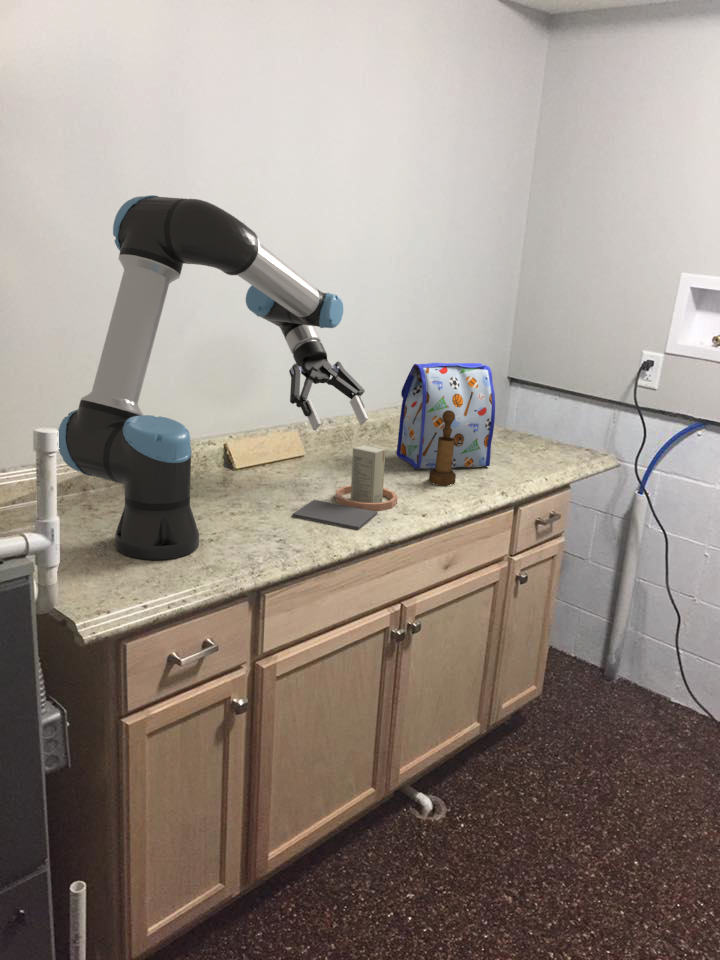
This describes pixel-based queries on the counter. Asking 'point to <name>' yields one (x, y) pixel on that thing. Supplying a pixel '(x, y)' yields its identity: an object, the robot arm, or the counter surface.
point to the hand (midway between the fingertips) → (341, 424)
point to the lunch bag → (437, 393)
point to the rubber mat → (335, 514)
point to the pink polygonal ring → (366, 506)
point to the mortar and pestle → (444, 454)
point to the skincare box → (367, 474)
